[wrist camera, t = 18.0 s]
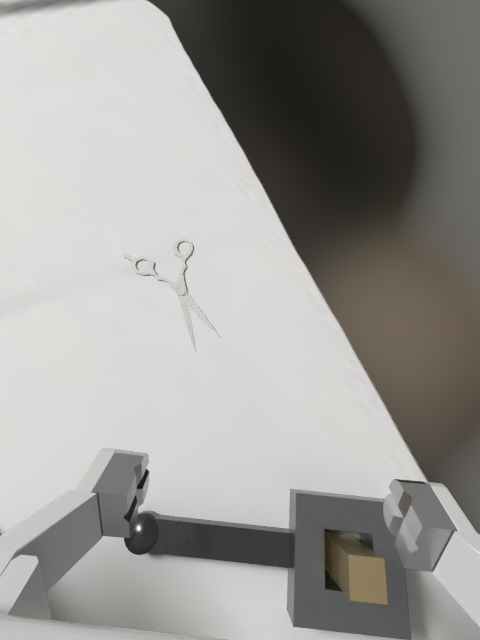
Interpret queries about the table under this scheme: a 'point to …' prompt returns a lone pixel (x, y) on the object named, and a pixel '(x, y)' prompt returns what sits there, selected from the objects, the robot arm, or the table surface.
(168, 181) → the table surface
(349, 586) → the bar
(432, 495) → the robot arm
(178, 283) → the scissors
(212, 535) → the grey handled square frame
